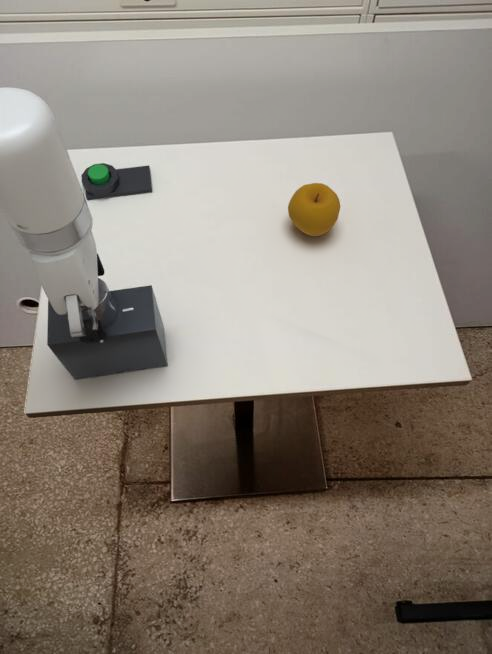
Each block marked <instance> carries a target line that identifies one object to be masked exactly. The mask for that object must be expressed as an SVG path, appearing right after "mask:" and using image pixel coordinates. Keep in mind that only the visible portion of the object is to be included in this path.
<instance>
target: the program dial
mask: <svg viewBox="0 0 492 654" xmlns="http://www.w3.org/2000/svg"><path fill="white" fill-rule="evenodd" d="M110 291H111V290H109V287H108V285H107V282H105V281H104V279H101V278H99V277H98V306H97V307H96V309H95V313H96V317H97V319H98V320H100V321H101V323H102V325H103V327H107V326H109V325H110V324H112V323H113V322H114V320H115V319H116V317H117V307H116V305H115V303H114V300H113V298H112V296H111V293H110ZM81 303H82V302H81V300H80V304H81ZM81 312H82V316H83V318H84V320H85V319H90V317H89V312H88V310H86V311H81Z"/></svg>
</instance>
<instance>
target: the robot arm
mask: <svg viewBox="0 0 492 654" xmlns="http://www.w3.org/2000/svg"><path fill="white" fill-rule="evenodd" d="M0 212H1V213H2V215H3V217H4V219H5V220H6V222H7V224H8V225H9V227H10V228H11V230H12V232H13V234H14V236H15V237H16V238H17V240H18V243H20V245H21V246H22V247H23V248H24V249H25V250H27V251H28V252H29V257H30V260H31V264H32V266H33V270H34V272H35V275H36V277H37V279H38V281H39V284H40V286H41V288H42V290H43V292H44V294H45V297H46V298H47V301H48V300H49V302H50V303H51V305H52V307H53V309H54V310H55V312H56V313H57V314H59V315H63V314H66V313H68V320H69V327H70V334H71V337H75V338H76V337H79V339H80V341H81V342H86V343H97V342H98V341H99V340H105V339H107V333H106V331H105V329H104V327H103V325H102V323H101V321H100V320H98V319H97V317H96V313H95V309H96V307H97V306H98V278H99V277H102V276H104V275H105V268H104V266H103V262H102V261H101V258H100V255H99V253H98V251H97V244H96V241H95V237H94V235H93V232H92V229H93V225H94V221H93V220H94V219H93V216H92V212H91V210H90V208H89V204H88V202H87V199H86V196H85V194H84V191H83V189H82V186H81V183H80V181H79V179H78V176H77V173H76V171H75V168H74V165H73V163H72V160H71V157H70V155H69V152H68V149H67V147H66V144H65V141H64V139H63V136H62V132H61V130H60V128H59V125H58V123H57V119H56V118H55V115H54V113H53V111H52V109H51V108H50V106H49V105H48V104H47V103H46V101H45V100H44V99H43V98H41V97H40V96H39V95H38V94H35V93H34V92H33V91H30V90H27V89H25V88H19V87H9V86H6V87H0ZM80 300H81V302H82V303H81V304H80ZM86 310H88V312H89V317H90V319H85V320H83V319H82V312H81V311H86Z"/></svg>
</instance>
